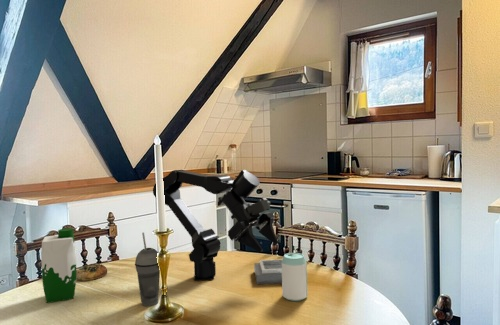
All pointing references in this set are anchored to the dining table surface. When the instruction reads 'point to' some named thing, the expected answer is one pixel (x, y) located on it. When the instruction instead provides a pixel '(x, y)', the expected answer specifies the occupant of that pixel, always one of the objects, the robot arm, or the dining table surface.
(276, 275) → the grey rectangular tray
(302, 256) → the can
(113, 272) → the dining table surface
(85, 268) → the bread roll
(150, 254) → the beverage cup
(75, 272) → the milk carton
